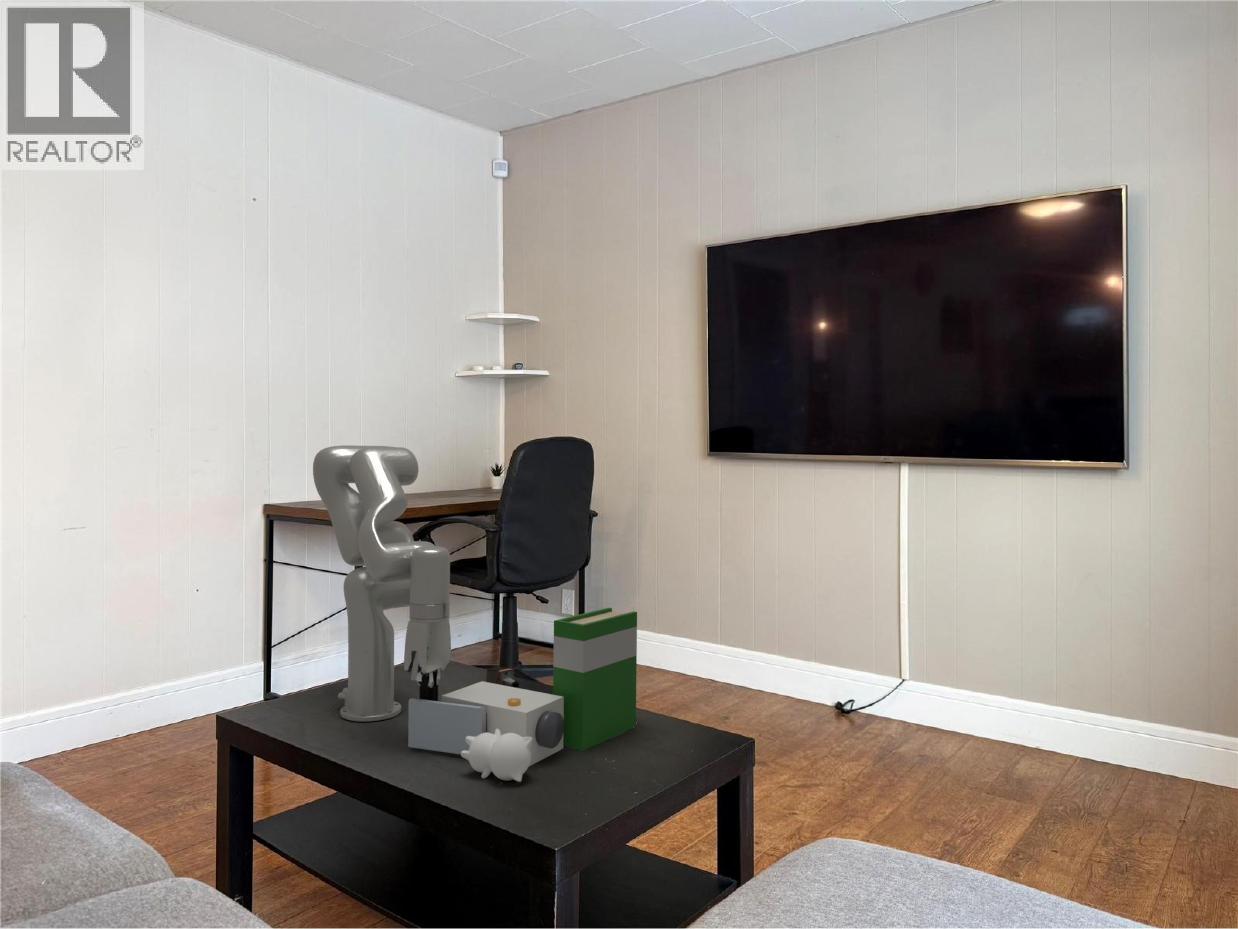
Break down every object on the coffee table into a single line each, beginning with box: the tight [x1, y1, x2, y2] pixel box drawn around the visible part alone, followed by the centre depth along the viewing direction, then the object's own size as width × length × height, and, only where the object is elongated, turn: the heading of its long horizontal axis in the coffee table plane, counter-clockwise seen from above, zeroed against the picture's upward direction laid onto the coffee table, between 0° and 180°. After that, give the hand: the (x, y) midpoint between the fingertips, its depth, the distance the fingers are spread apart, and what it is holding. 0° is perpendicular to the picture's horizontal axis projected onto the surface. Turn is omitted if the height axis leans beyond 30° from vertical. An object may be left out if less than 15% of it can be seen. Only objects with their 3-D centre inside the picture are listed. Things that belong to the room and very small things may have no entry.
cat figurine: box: [460, 729, 533, 783], centre depth 156 cm, size 9×11×12 cm
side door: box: [407, 697, 486, 755], centre depth 165 cm, size 16×3×9 cm, turn 71°
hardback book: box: [552, 607, 638, 752], centre depth 177 cm, size 18×7×24 cm, turn 144°
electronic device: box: [485, 667, 520, 688], centre depth 199 cm, size 4×10×8 cm, turn 43°
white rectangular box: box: [441, 681, 564, 767], centre depth 168 cm, size 22×12×11 cm, turn 60°
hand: (428, 705), depth 170 cm, fingers closed
